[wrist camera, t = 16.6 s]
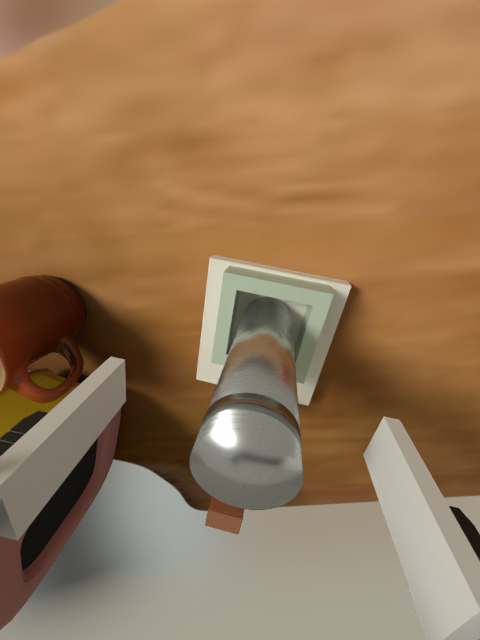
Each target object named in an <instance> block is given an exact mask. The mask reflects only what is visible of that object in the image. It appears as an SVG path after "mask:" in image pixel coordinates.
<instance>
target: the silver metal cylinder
mask: <svg viewBox="0 0 480 640" xmlns="http://www.w3.org/2000/svg"><path fill="white" fill-rule="evenodd" d="M189 464H190V470H191V473H192V475H193V477H194V479H195V480H196V482H197V483H198V484H199V486H200V487H201V488H202V489H203V490H204V491H205V492H207V493H208V494H209V495H211V496H212V497H214V498H215V499H217V500H219V501H221V502H223V503H226V504H228V505H231V506H234V507H238V508H242V509H249V510H265V509H272V508H276V507H279V506H282V505H284V504H286V503H288V502H289V501H291V500H292V499H293V498H294V497H295V496H296V495H297V494H298V493H299V491H300V489H301V487H302V483H303V469H302V447H301V433H300V425H299V410H298V396H297V381H296V366H295V352H294V337H293V323H292V314H291V311H290V309H289V307H288V306H287V305H286V304H285V303H284V302H283V301H282V300H280V299H277V298H272V297H268V296H265V297H259V298H257V299H255V300H253V301H252V302H251V303H250V304H249V305H248V306H247V308H246V309H245V312H244V314H243V317H242V320H241V322H240V325H239V328H238V330H237V333H236V336H235V338H234V341H233V343H232V346H231V349H230V351H229V354H228V357H227V359H226V362H225V365H224V367H223V370H222V372H221V375H220V378H219V380H218V383H217V386H216V388H215V391H214V394H213V396H212V399H211V401H210V404H209V407H208V409H207V411H206V414H205V416H204V419H203V421H202V424H201V427H200V429H199V432H198V435H197V438H196V441H195V444H194V446H193V449H192V452H191V454H190V460H189Z"/></svg>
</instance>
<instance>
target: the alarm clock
mask: <svg viewBox="0 0 480 640" xmlns="http://www.w3.org/2000/svg"><path fill="white" fill-rule="evenodd" d="M28 373H29V376H30V378H31V379H32V381H33V382H34V383H36V384H37V385H38V386H40V387H42V388H45V389H52V388H55V387H57V386H58V385H60V384H61V383H62V382H63V381H64V380H65V379H66V378H64V377H61V376H59V375H56V374H54V373H53V372H52V371H50V370H49V369H33V370H28ZM79 385H80V383H78V382H76V383H75V384H74V386H73V387H72V388H71V389H70V390H69V391H68V392H67V393H66V394H65V395H63V396H62V397H61V398H59V399H57V400H55V401H53V402H49V403H37V402H33V401H30V400H28V399H27V398H25V397H23V396H22V395H20V394H18V393H16V392H15V391H13V390H11V389H7V390H5V391H4V392H3V393H2V394H1V395H0V438H1V437H2V436H3V435H4V434H6V433H7V432H9V431H10V429H11V428H13V427H14V426H15V425H16V424H17V423H19V422H20V421H21V420H22V419H24V418H26V417H27V416H29V415H31V414H33V413H35V412H37V411H43V412H47V413H49V412H50V411H51V410H52V409H53V408H54V407H55V406H57V405H58V404H59V403H60V402H61V401H62V400H63V399H64V398H65V397H67V396H68V395H69V394H70V393H71V392H72V391H73V390H74V389H75V388H76V387H78V386H79ZM120 419H121V408H120V409H119V411H118V412H117V413H116V415H115V416H114V417H113V418H112V420H111V421H110V422H109V424H108V425H107V426H106V427H105V429H104V430H103V431H102V433H101V434H100V435H99V436H98V438H97V439H96V440H95V442H94V443H93V444H92V446H91V447H90V448H89V449H88V451H87V452H86V453H85V455H84V456H83V457H82V458H81V460H80V461H79V462H78V464H77V465H76V466H75V467H74V469H73V470H72V471H71V473H70V474H69V475H68V477H67V478H66V479H65V480H64V482H63V483H62V484H61V486H60V487H59V488H58V489H57V491H56V492H55V493H54V495H53V496H52V497H51V498H50V500H49V501H48V502H47V504H46V505H45V506H44V507H43V509H42V510H41V511H40V513H39V514H38V515H37V517H36V518H35V519H34V520H33V522H32V523H31V524H30V526H29V527H28V528H27V529H26V531H25V532H24V533H23V535H22V536H21V537H20V538H19V540H18V541H16V540H13V539H9V538H5V537H1V536H0V630H1V629H2V628H3V627H4V626H5V625H6V624H7V623H9V622H10V621H11V620H12V619H13V618H14V616H15V615H16V614H17V613H18V612H19V610H20V609H21V608H22V607H23V606H24V604H25V603H26V602H27V601H28V599H29V598H30V596H31V595H32V593H33V592H34V591H35V589H36V588H37V586H38V585H39V583H40V582H41V581H42V579H43V577H44V576H45V575H46V573H47V572H48V570H49V569H50V567H51V566H52V564H53V562H54V561H55V559H56V558H57V556H58V555H59V553H60V552H61V550H62V548H63V547H64V545H65V544H66V542H67V541H68V539H69V538H70V536H71V535H72V533H73V531H74V530H75V528H76V527H77V525H78V524H79V522H80V520H81V519H82V518H83V516H84V514H85V513H86V511H87V510H88V508H89V506H90V505H91V503H92V502H93V500H94V499H95V497H96V495H97V494H98V492H99V490H100V488H101V486H102V484H103V482H104V480H105V478H106V476H107V474H108V471H109V469H110V466H111V464H112V461H113V457H114V454H115V450H116V443H117V437H118V431H119V425H120Z"/></svg>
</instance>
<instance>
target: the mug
mask: <svg viewBox="0 0 480 640" xmlns="http://www.w3.org/2000/svg"><path fill="white" fill-rule="evenodd" d="M85 320H86V314H85V309H84V305H83V303H82V301H81V299H80V297H79V295H78V294H77V293H76V292H75V290H74V289H73V288H72V287H71V286H69V285H68V284H67V283H66V282H64V281H62V280H60V279H58V278H56V277H53V276H48V275H40V276H37V275H35V276H29V277H21V278H18V279H16V280H12V281H9V282H5V283H2V284H0V395H1V394H2V393H3V392H4V391H5V390H7V389H11V390H13V391H15V392H16V393H18V394H20V395H22V396H23V397H25V398H27V399H28V400H30V401H33V402H37V403H49V402H53V401H55V400H57V399H59V398H61V397H62V396H63V395H65V394H66V393H67V392H68V391H69V390H70V389H71V388H72V387H73V386H74V384H75V383H76V382H77V380H78V379H79V377H80V375H81V373H82V370H83V364H84V363H83V357H82V355H81V353H80V351H79V348H78V346H77V345H76V343H75V342H74V341H73V339H72V338H74V337H75V336H76V335H77V334H78V332H79V331H80V330H81V329H82V328H83V326H84V323H85ZM53 352H56V353H59V354H61V355H62V356H64V357H65V358H66V359H67V360H68V362H69V364H70V367H71V371H70V374H69V376H68V377H67V378H66V379H65V380H64V381H63V382H62V383H61V384H60V385H58V386H57V387H55V388H52V389H45V388H42V387H40V386H38V385H37V384H36V383H34V382H33V381H32V379H31V378H30V376H29V373H28V369H27V366H29V365H30V364H32V363H33V362H35V361H37V360H38V359H40V358H42V357H44V356H46V355H48V354H50V353H53Z"/></svg>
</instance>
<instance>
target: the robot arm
mask: <svg viewBox="0 0 480 640" xmlns="http://www.w3.org/2000/svg"><path fill="white" fill-rule="evenodd" d="M125 402H126V379H125V360H124V359H120V358H115V357H110V358H108V359H107V360H106V361H105V362H104V363H103V364H102V365H101V366H100V367H98V368H97V369H96V370H95V371H94V372H93V373H92V374H91V375H90V376H89V377H87V378H86V379H85V380H84V381H83V382H82V383H81V384H80V385H79V386H78V387H76V388H75V389H74V390H73V391H72V392H71V393H70V394H69V395H68V396H67V397H65V398H64V399H63V400H62V401H61V402H60V403H59V404H58V405H57V406H55V407H54V408H53V409H52V410H51V411H50V412H49V413H47V412H43V411H37V412H35V413H33V414H31V415H29V416H27V417H26V418H24V419H22V420H21V421H20V422H19V423H17V424H16V425H15V426H14V427H13V428H11V429H10V431H9V432H7V433H6V434H4V435H3V436H2V437H1V438H0V536H1V537H5V538H9V539H13V540H16V541H18V540H19V538H20V537H21V536H22V535H23V533H24V532H25V531H26V529H27V528H28V527H29V526H30V524H31V523H32V522H33V520H34V519H35V518H36V517H37V515H38V514H39V513H40V511H41V510H42V509H43V507H44V506H45V505H46V504H47V502H48V501H49V500H50V498H51V497H52V496H53V495H54V493H55V492H56V491H57V489H58V488H59V487H60V486H61V484H62V483H63V482H64V480H65V479H66V478H67V477H68V475H69V474H70V473H71V471H72V470H73V469H74V467H75V466H76V465H77V464H78V462H79V461H80V460H81V458H82V457H83V456H84V455H85V453H86V452H87V451H88V449H89V448H90V447H91V446H92V444H93V443H94V442H95V440H96V439H97V438H98V436H99V435H100V434H101V433H102V431H103V430H104V429H105V427H106V426H107V425H108V424H109V422H110V421H111V420H112V418H113V417H114V416H115V415H116V413H117V412H118V411H119V409H120V408H121V407H122V406H123V404H124V403H125ZM363 456H364V458H365V461H366V464H367V467H368V470H369V473H370V476H371V479H372V482H373V485H374V488H375V491H376V494H377V497H378V500H379V502H380V505H381V508H382V511H383V514H384V517H385V520H386V523H387V526H388V529H389V532H390V535H391V538H392V541H393V544H394V546H395V549H396V552H397V555H398V558H399V561H400V564H401V567H402V570H403V573H404V576H405V579H406V582H407V584H408V587H409V590H410V593H411V596H412V599H413V602H414V605H415V608H416V611H417V613H418V617H419V620H420V623H421V626H422V628H423V631H424V634H425V637H426V640H480V535H479V533H478V531H477V529H476V528H475V526H474V525H473V524H472V522H471V521H470V520H469V519H468V518H467V517H466V516H465V515H464V514H463V512H462V511H461V510H460V509H459V508H456V507H451V506H448V504H447V502H446V501H445V499H444V497H443V495H442V494H441V492H440V490H439V488H438V486H437V485H436V483H435V481H434V479H433V478H432V476H431V474H430V472H429V471H428V469H427V467H426V465H425V464H424V462H423V460H422V458H421V456H420V455H419V453H418V451H417V449H416V448H415V446H414V444H413V442H412V441H411V439H410V437H409V435H408V434H407V432H406V430H405V428H404V426H403V425H402V423H401V421H400V420H398V419H394V418H389V417H383V419H382V421H381V422H380V424H379V426H378V428H377V430H376V432H375V434H374V436H373V438H372V439H371V441H370V443H369V445H368V447H367V449H366V451H365V453H364V454H363Z"/></svg>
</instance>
